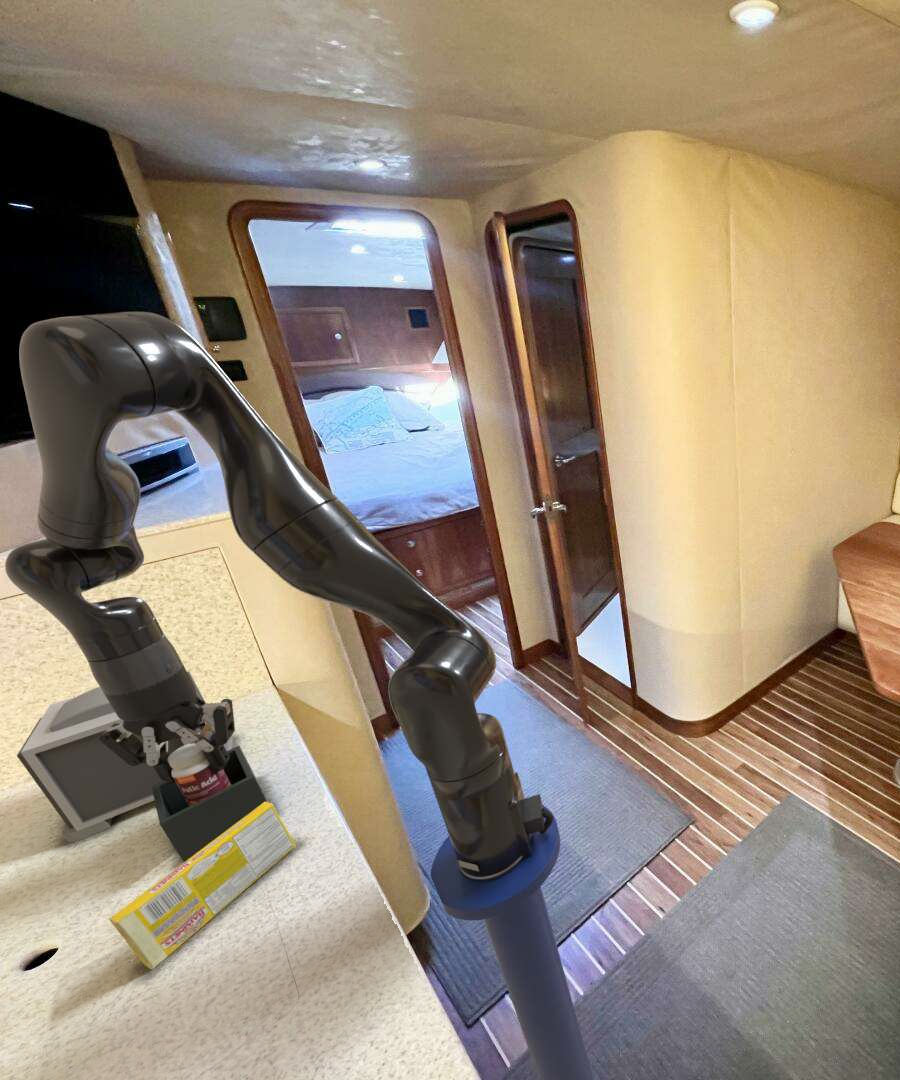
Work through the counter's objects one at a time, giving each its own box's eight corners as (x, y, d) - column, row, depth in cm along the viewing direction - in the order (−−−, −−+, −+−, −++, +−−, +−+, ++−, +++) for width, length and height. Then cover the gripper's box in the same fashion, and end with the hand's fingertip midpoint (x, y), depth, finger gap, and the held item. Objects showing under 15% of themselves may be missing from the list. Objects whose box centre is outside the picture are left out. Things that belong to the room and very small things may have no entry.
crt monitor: (233, 736, 97) (189, 651, 90) (229, 778, 87) (180, 687, 81) (87, 791, 87) (26, 700, 80) (65, 846, 77) (-8, 748, 70)
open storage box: (273, 814, 80) (254, 776, 77) (184, 864, 73) (159, 824, 70) (257, 781, 86) (239, 745, 84) (174, 824, 80) (151, 786, 77)
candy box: (287, 843, 75) (265, 799, 72) (297, 847, 75) (275, 803, 71) (141, 964, 61) (106, 917, 58) (152, 971, 61) (117, 923, 57)
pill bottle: (189, 815, 75) (162, 769, 72) (190, 795, 78) (164, 751, 75) (232, 795, 78) (208, 750, 75) (231, 777, 81) (208, 734, 78)
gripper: (222, 647, 75) (268, 741, 82) (93, 673, 71) (152, 770, 78) (194, 676, 69) (247, 776, 75) (50, 707, 65) (118, 810, 71)
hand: (198, 772), depth 76 cm, fingers closed on pill bottle, 4 cm apart
